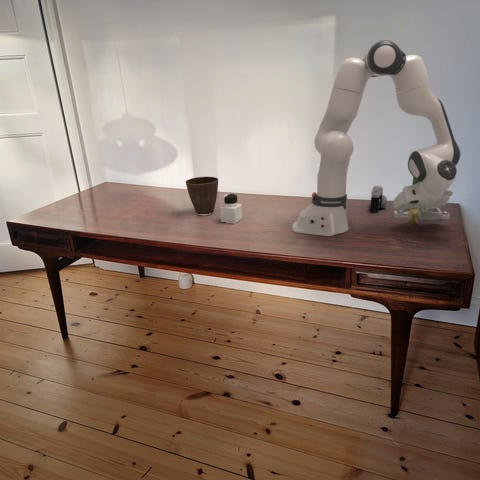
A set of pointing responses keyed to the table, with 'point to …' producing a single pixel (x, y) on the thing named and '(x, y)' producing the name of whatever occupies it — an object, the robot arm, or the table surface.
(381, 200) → the camera
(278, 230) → the table surface
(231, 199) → the medicine bottle
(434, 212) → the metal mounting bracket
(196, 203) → the plant pot
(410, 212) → the link pin
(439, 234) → the table surface
